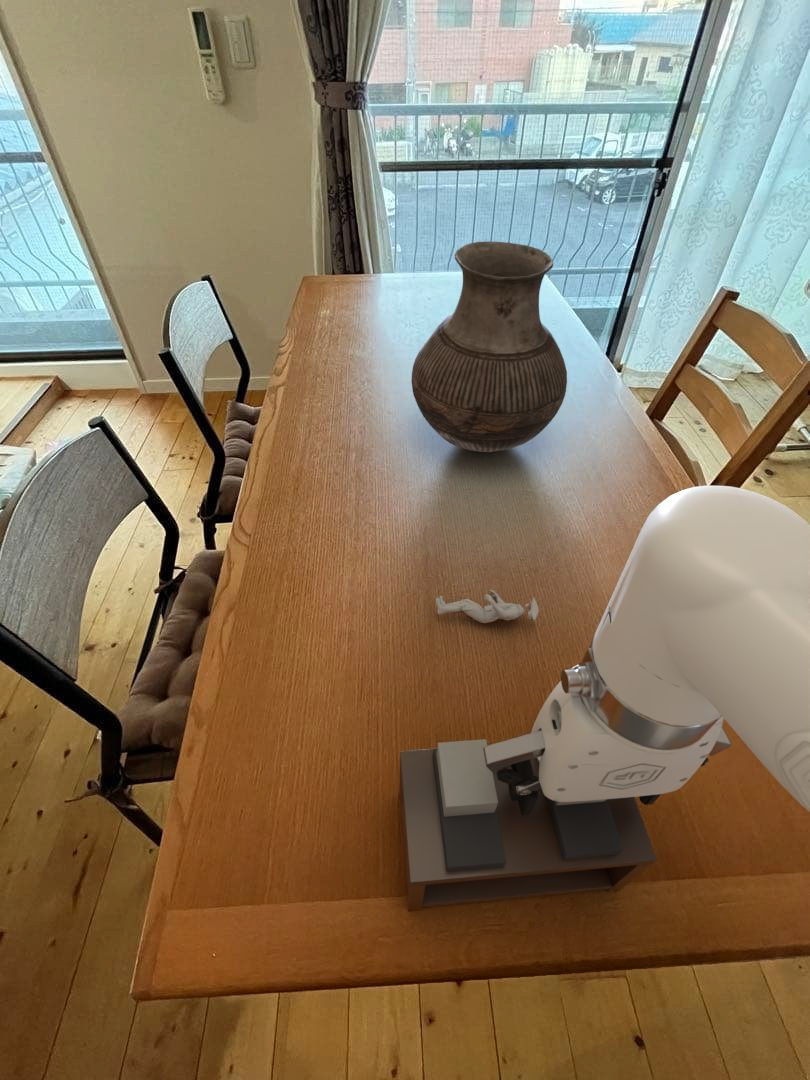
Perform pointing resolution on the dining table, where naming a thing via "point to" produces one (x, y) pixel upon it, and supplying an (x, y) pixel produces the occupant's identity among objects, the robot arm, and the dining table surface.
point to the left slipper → (467, 806)
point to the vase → (492, 354)
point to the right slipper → (585, 829)
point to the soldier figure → (488, 609)
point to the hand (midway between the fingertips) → (580, 790)
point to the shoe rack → (508, 847)
